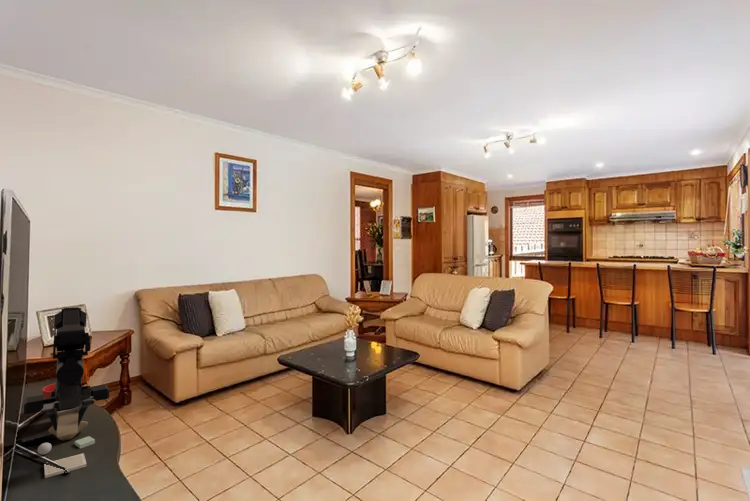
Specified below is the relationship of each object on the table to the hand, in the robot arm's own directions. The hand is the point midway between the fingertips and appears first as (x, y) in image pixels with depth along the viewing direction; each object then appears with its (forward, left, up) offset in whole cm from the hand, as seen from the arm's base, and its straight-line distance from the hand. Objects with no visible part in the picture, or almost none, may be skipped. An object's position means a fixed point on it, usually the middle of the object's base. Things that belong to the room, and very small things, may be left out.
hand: (66, 428), depth 108 cm
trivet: (0, 0, -11) cm, 11 cm away
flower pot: (-43, +1, -11) cm, 45 cm away
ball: (-11, -4, -9) cm, 15 cm away
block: (0, 0, -1) cm, 1 cm away
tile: (-11, +6, -12) cm, 17 cm away
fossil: (-19, +2, -11) cm, 22 cm away
